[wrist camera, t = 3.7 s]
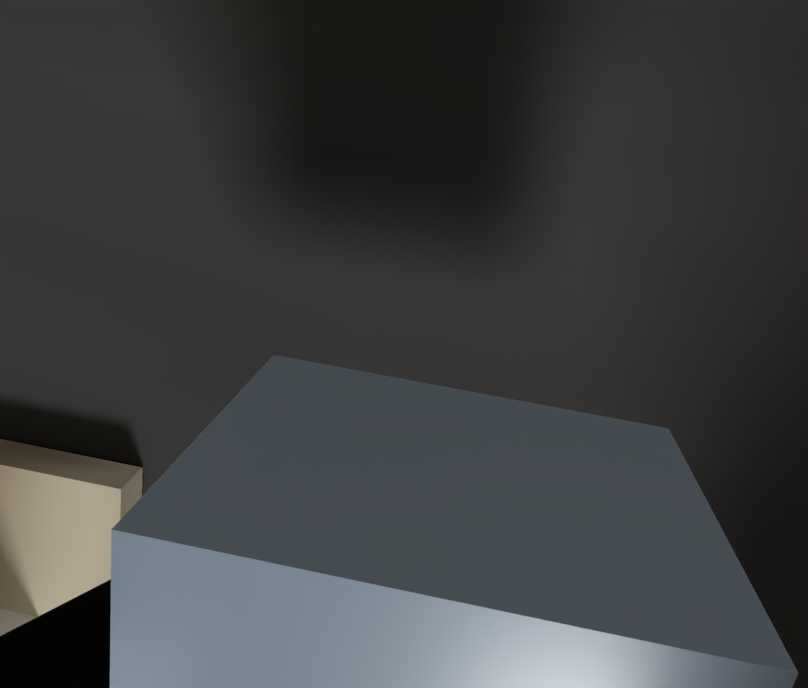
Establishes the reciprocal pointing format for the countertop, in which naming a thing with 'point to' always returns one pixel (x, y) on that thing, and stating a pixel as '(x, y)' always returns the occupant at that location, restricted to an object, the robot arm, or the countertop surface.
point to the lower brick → (12, 620)
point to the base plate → (57, 523)
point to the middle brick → (428, 550)
